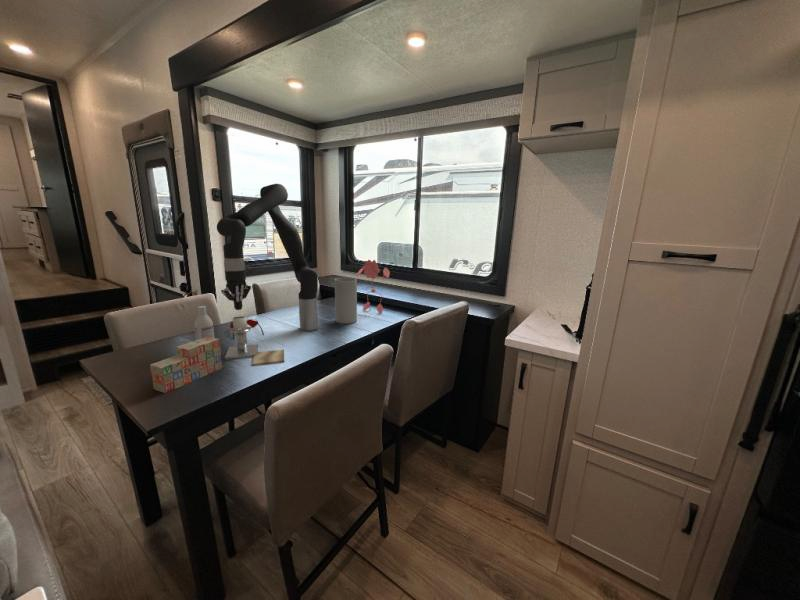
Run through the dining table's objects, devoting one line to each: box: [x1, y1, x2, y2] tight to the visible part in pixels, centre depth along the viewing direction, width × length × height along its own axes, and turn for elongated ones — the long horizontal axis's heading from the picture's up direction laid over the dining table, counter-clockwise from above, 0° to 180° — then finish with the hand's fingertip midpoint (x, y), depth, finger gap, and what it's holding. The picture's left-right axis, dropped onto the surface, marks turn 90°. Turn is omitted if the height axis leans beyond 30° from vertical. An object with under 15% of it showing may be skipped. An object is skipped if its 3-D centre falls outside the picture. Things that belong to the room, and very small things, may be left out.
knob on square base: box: [224, 326, 259, 361], centre depth 136 cm, size 12×12×11 cm
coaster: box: [251, 348, 285, 366], centre depth 133 cm, size 12×12×1 cm
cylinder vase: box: [334, 277, 358, 325], centre depth 184 cm, size 12×12×25 cm
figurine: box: [355, 259, 391, 318], centre depth 199 cm, size 15×26×35 cm, turn 61°
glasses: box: [229, 318, 265, 340], centre depth 162 cm, size 14×16×5 cm
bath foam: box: [193, 305, 215, 340], centre depth 137 cm, size 7×7×20 cm
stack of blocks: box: [149, 337, 223, 394], centre depth 114 cm, size 21×6×12 cm, turn 157°
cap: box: [232, 315, 248, 331], centre depth 135 cm, size 5×7×6 cm
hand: (238, 309), depth 133 cm, fingers closed
